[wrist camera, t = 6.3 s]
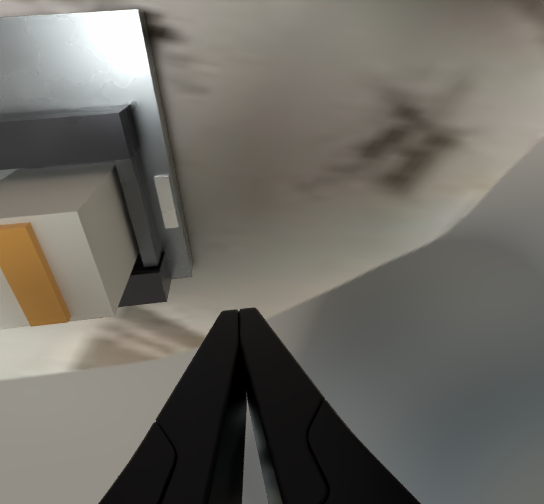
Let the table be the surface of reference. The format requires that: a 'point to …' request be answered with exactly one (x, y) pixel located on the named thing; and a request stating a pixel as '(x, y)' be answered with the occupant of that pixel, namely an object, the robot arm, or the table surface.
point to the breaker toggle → (63, 244)
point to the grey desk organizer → (97, 125)
